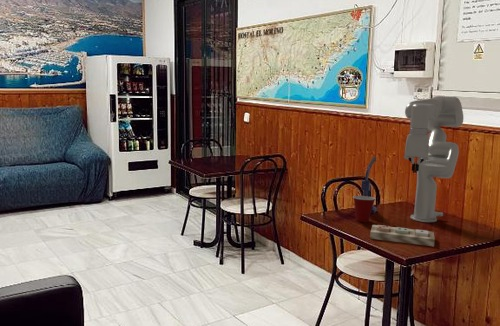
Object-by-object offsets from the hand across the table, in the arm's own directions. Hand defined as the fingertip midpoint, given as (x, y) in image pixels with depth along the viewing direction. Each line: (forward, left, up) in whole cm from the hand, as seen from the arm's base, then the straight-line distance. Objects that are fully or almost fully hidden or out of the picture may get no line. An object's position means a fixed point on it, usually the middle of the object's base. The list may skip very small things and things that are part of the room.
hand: (414, 172), depth 228 cm
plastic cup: (+15, -18, -27) cm, 36 cm away
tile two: (+10, +11, -26) cm, 30 cm away
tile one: (+3, +15, -26) cm, 30 cm away
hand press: (+4, -36, -27) cm, 45 cm away
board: (+10, +11, -27) cm, 31 cm away
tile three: (+17, +7, -26) cm, 32 cm away
